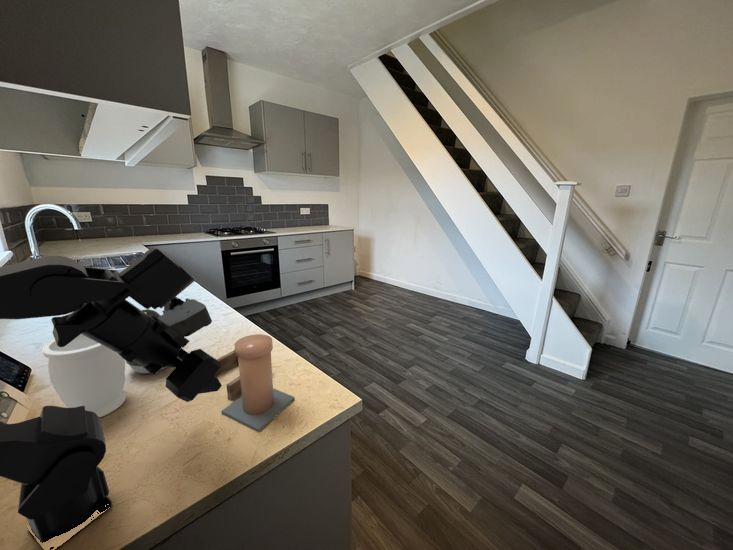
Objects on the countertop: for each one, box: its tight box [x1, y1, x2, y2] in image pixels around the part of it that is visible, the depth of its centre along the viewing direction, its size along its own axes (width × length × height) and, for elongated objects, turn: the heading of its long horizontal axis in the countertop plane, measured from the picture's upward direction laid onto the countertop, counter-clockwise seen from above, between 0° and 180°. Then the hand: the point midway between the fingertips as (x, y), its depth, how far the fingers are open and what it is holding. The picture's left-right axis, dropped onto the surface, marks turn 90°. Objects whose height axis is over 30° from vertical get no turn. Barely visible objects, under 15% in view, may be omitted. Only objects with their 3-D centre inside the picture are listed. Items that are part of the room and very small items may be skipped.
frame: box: [214, 349, 241, 401], centre depth 67 cm, size 11×11×4 cm
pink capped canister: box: [234, 333, 274, 415], centre depth 57 cm, size 7×7×14 cm
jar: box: [41, 334, 127, 419], centre depth 56 cm, size 11×10×15 cm
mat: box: [221, 387, 295, 433], centre depth 59 cm, size 10×10×1 cm
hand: (204, 376), depth 50 cm, fingers open, 9 cm apart
